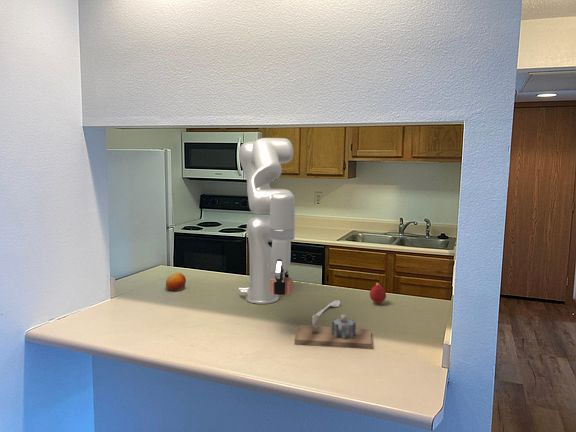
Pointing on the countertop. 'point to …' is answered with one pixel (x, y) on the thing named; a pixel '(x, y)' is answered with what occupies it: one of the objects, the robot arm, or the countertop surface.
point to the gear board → (334, 334)
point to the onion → (377, 294)
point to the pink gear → (287, 286)
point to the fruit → (176, 282)
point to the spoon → (328, 306)
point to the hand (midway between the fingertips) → (281, 289)
